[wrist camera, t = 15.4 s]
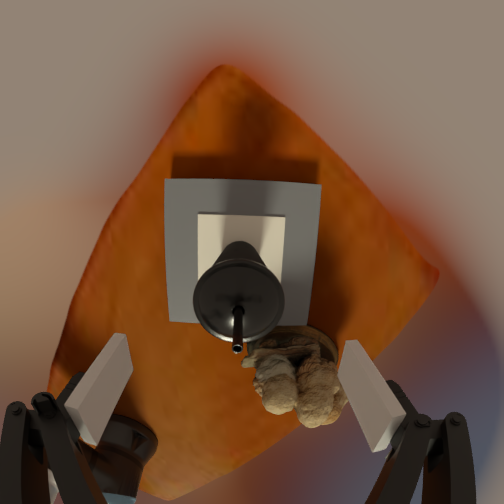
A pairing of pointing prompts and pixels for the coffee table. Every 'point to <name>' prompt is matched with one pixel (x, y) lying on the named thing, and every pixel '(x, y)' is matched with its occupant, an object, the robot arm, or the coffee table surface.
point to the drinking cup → (238, 296)
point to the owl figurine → (297, 374)
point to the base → (241, 236)
